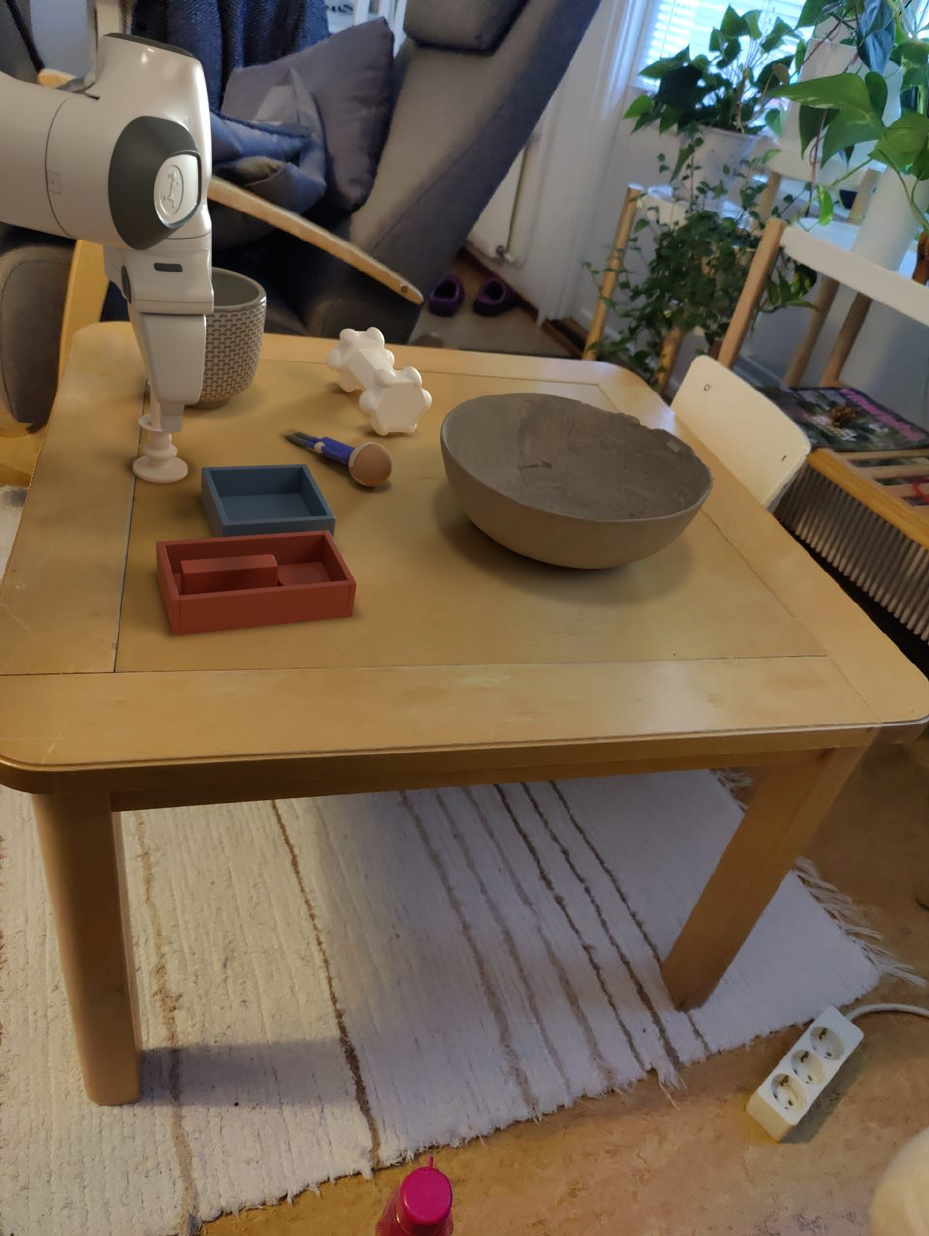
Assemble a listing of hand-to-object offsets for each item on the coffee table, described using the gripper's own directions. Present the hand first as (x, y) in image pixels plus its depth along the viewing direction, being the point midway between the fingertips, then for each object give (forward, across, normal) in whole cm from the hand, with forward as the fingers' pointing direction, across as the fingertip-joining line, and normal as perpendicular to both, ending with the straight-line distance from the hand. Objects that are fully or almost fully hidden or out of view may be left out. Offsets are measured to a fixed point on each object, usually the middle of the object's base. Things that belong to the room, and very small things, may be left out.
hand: (163, 406), depth 83 cm
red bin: (+7, +22, +4) cm, 23 cm away
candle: (+7, 0, 0) cm, 7 cm away
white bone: (+8, -13, +26) cm, 30 cm away
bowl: (+8, +15, +38) cm, 41 cm away
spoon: (+6, +22, +4) cm, 23 cm away
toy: (+7, 0, +18) cm, 19 cm away
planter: (+7, -17, +6) cm, 20 cm away
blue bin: (+7, +11, +8) cm, 15 cm away
